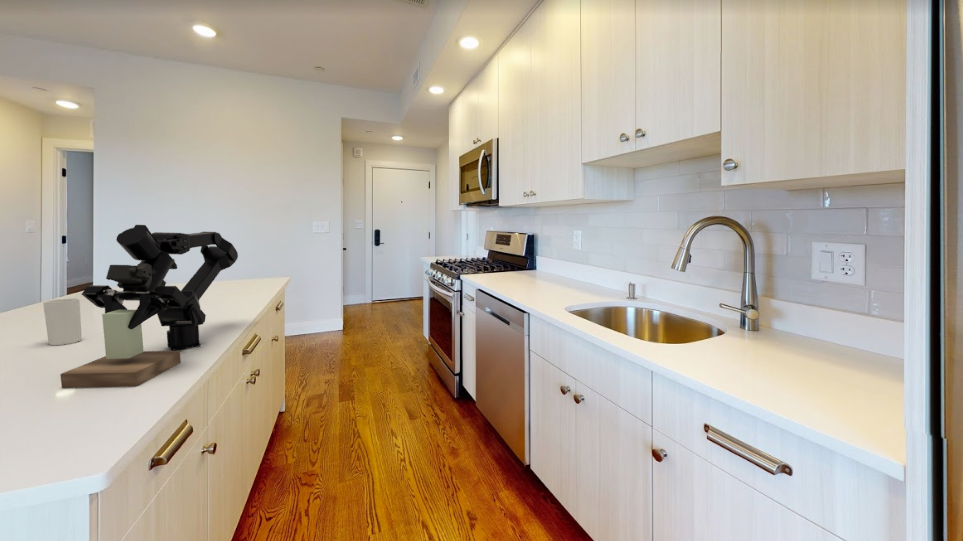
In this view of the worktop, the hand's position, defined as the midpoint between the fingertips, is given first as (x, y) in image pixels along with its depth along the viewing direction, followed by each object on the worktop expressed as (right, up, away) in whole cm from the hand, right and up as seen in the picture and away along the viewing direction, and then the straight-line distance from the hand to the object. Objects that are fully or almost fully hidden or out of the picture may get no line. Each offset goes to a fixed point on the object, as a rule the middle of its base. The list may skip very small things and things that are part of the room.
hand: (117, 328), depth 83 cm
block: (0, -6, +2) cm, 7 cm away
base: (0, -11, +3) cm, 11 cm away
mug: (-38, -8, +24) cm, 46 cm away
